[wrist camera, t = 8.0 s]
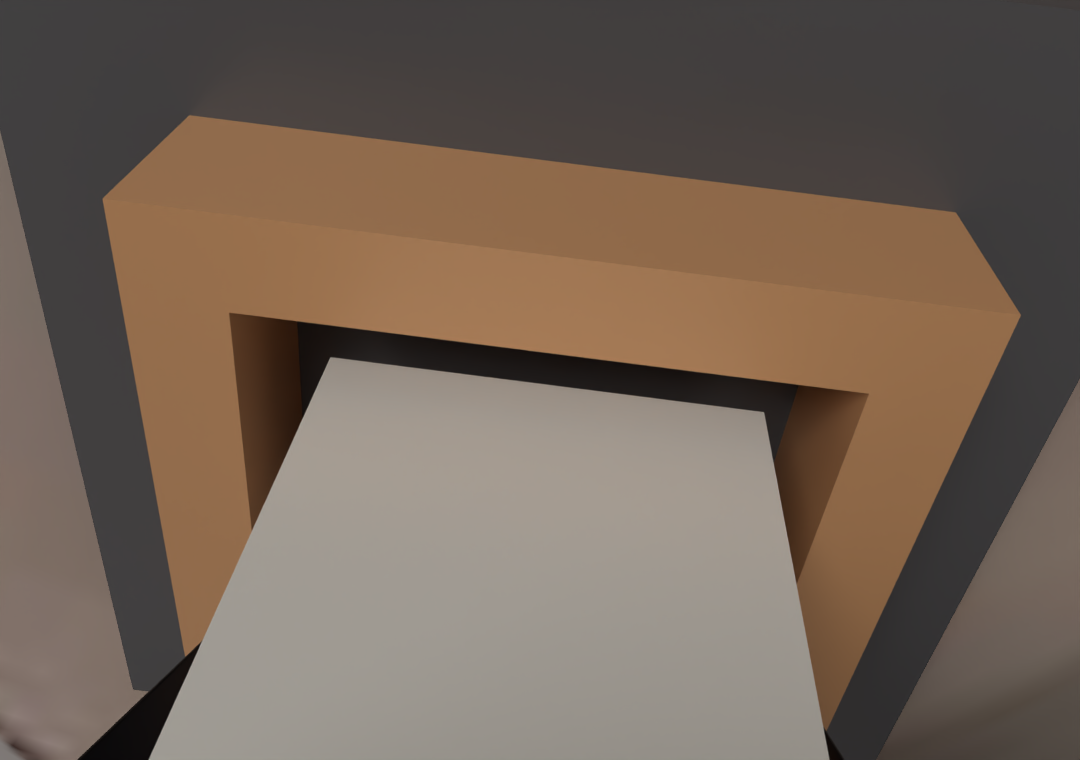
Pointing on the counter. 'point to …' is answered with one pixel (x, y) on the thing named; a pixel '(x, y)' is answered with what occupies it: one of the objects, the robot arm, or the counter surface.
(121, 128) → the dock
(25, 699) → the counter surface
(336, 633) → the light gray block
